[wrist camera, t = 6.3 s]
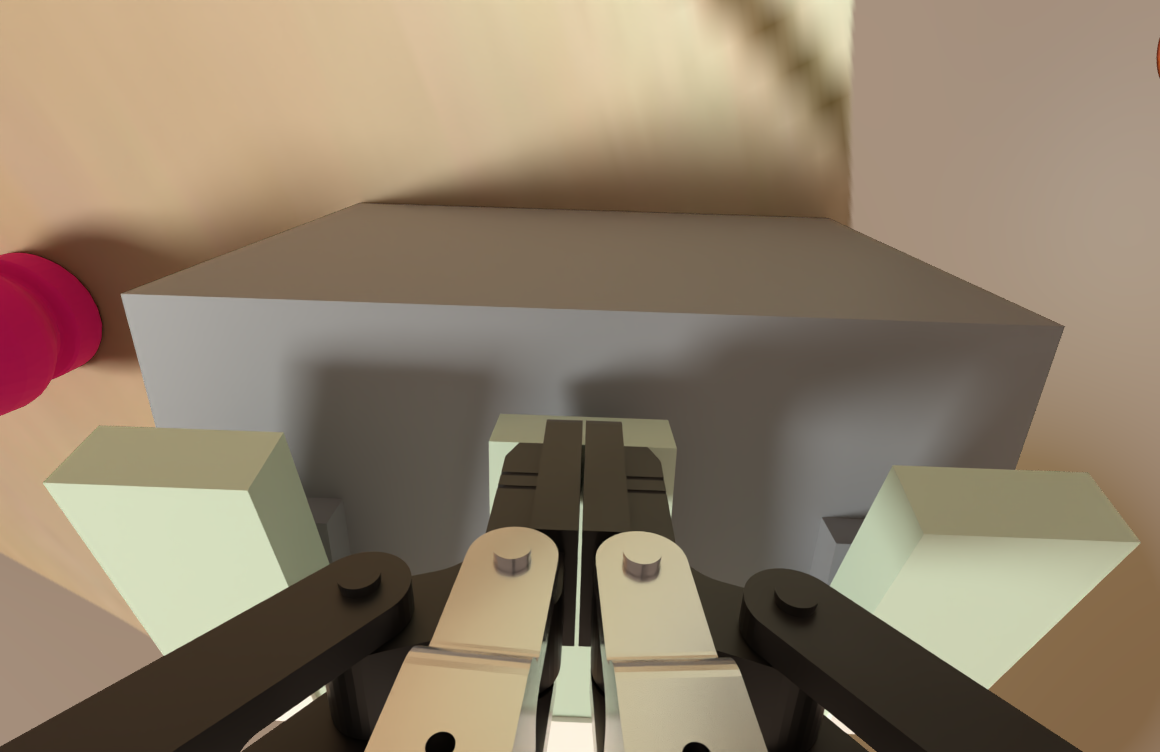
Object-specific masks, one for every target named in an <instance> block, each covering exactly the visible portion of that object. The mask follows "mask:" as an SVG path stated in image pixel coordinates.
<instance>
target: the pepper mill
mask: <svg viewBox="0 0 1160 752" xmlns="http://www.w3.org/2000/svg"><path fill="white" fill-rule="evenodd" d="M101 339H102V322H101V318H100V314H99V311H98V308H97V306H96V304H95V302H94V300H93V299H92V297H91V295H90V293H89V292H88V291H87V289H86V288H85V287H84V286H83V285H82V284H81V283H80V281H79V280H78V279H77V278H76V277H75V276H74V275H72V274H71V273H70V272H68V271H67V270H65V269H64V268H63V267H61V266H60V265H58V264H56V263H54V262H52V261H50V260H48V259H45V258H43V257H40V256H36V255H33V254H27V253H7V254H3V255H0V416H1V415H4V414H6V413H9V412H11V411H13V410H16V409H18V408H21V407H23V406H26V405H27V404H29V403H30V402H32V401H33V400H35V399H36V398H37V397H38V396H39V395H41V394H42V392H43V391H44V390H45V389H46V387H47V386H48V384H49V383H50V381H51V379H55V378H57V377H59V376H61V375H63V374H65V373H67V372H70V371H72V370H74V369H76V368H78V367H80V366H82V365H83V364H85V363H86V362H87V361H89V360H90V359H91V358H92V357H93V356H94V355H95V353H96V352H97V350H98V347H99V344H100V342H101Z"/></svg>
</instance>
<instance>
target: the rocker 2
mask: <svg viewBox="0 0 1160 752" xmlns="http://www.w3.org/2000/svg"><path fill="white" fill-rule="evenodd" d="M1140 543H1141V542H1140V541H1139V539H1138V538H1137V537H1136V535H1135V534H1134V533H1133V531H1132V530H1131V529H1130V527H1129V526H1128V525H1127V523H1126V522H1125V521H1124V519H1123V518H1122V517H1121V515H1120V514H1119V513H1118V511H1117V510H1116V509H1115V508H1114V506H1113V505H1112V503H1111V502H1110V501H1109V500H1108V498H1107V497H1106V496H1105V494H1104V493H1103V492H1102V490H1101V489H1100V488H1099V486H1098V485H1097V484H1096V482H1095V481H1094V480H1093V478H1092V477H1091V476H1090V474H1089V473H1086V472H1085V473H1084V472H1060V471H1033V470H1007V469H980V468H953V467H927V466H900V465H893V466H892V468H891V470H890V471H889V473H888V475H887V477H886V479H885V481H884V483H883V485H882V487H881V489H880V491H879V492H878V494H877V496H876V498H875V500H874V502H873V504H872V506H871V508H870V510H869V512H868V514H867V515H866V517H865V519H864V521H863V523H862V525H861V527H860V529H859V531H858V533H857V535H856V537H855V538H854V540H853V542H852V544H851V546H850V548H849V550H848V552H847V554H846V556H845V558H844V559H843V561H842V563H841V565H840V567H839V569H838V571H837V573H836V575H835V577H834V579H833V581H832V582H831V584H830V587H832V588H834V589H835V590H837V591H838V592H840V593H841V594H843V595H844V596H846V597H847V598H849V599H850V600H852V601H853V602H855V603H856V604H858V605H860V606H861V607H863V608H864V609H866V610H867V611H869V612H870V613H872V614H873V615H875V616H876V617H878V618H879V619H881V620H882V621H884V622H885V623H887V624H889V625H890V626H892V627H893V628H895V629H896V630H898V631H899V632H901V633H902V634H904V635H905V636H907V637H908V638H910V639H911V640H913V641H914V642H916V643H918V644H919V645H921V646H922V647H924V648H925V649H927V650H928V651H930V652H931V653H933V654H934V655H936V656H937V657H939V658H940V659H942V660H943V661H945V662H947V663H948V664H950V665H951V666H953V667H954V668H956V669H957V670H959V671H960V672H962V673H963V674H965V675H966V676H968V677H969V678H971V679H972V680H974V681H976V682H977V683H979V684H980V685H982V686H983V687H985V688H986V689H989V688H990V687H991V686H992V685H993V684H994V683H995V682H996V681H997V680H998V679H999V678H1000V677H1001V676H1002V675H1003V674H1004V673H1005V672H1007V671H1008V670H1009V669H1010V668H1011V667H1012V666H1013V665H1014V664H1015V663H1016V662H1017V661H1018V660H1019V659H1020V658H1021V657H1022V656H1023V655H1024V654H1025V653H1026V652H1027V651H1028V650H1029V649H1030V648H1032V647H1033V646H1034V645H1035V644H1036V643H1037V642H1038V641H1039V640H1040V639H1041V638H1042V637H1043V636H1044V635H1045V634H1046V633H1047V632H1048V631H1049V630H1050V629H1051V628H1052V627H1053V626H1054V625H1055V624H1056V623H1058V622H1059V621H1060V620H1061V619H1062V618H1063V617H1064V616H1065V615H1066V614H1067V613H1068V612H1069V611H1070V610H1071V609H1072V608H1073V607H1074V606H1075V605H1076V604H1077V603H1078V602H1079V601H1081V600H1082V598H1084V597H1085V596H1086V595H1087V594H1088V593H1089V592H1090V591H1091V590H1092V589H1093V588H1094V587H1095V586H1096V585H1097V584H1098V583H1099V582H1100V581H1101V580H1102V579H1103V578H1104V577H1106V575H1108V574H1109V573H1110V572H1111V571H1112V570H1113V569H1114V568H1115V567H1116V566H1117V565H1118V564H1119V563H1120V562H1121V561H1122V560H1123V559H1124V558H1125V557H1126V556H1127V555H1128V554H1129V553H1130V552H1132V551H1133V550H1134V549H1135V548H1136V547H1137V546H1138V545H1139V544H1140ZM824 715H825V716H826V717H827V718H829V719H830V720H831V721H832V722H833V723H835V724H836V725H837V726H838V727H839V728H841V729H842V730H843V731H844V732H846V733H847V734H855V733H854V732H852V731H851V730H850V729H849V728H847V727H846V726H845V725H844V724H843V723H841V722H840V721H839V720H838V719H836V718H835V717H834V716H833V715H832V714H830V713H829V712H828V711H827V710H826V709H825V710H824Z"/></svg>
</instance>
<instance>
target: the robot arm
mask: <svg viewBox="0 0 1160 752" xmlns="http://www.w3.org/2000/svg"><path fill="white" fill-rule="evenodd" d="M582 430H583V420H557V419H547V422H546V428H545V434H544V441H543V443H520V442H519V443H518V444H517V445H516V446H515V447H514V448H513V449H512V450H511V451H510V452H509V453H508V454H507V455H506V456H505V459H504V463H503V467H502V471H501V475H500V479H499V483H498V488H497V490H496V494H495V498H494V502H493V506H492V510H491V514H490V518H489V522H488V526H487V530H486V533H485V534H484V535H482V536H480V537H479V538H478V539H476V540H475V541H474V542H473V543H472V544H471V546H470V547H469V549H468V551H467V553H466V556H465V558H464V561H463V562H461V563H459V564H457V565H455V566H452V567H449V568H447V569H443V570H439V571H434V572H429V573H424V574H419V575H414V576H411V571H410V568H409V567H408V565H407V564H406V563H405V562H404V561H403V560H402V559H401V558H399V557H397V556H395V555H392V554H389V553H384V552H362V553H357V554H353V555H349V556H346V557H343V558H341V559H339V560H337V561H335V562H333V563H331V564H329V565H327V566H325V567H324V568H322V569H320V570H318V571H316V572H315V573H313V574H311V575H309V576H307V577H306V578H304V579H302V580H300V581H298V582H297V583H295V584H293V585H291V586H289V587H288V588H286V589H284V590H282V591H280V592H279V593H277V594H275V595H273V596H271V597H270V598H268V599H266V600H264V601H262V602H260V603H259V604H257V605H255V606H253V607H251V608H250V609H248V610H246V611H244V612H242V613H241V614H239V615H237V616H235V617H233V618H232V619H230V620H228V621H226V622H224V623H223V624H221V625H219V626H217V627H215V628H214V629H212V630H210V631H208V632H206V633H205V634H203V635H201V636H199V637H197V638H195V639H194V640H192V641H190V642H188V643H186V644H185V645H183V646H181V647H179V648H177V649H176V650H174V651H172V652H170V653H168V654H167V655H165V656H163V657H161V658H159V659H158V660H156V661H154V662H152V663H150V664H149V665H147V666H145V667H143V668H141V669H140V670H138V671H136V672H134V673H132V674H131V675H129V676H127V677H125V678H123V679H121V680H120V681H118V682H116V683H115V684H112V685H111V686H109V687H107V688H105V689H103V690H102V691H100V692H98V693H96V694H94V695H93V696H91V697H89V698H87V699H85V700H84V701H82V702H80V703H78V704H76V705H75V706H73V707H71V708H69V709H67V710H65V711H64V712H62V713H60V714H58V715H56V716H55V717H53V718H51V719H49V720H47V721H46V722H44V723H42V724H40V725H38V726H37V727H35V728H33V729H31V730H30V731H28V732H26V733H24V734H22V735H20V736H19V737H17V738H15V739H13V740H11V741H10V742H8V743H6V744H4V745H3V746H1V747H0V752H240V751H241V750H242V748H243V747H244V745H245V744H246V743H247V742H248V741H249V740H250V739H251V738H252V737H253V736H254V735H255V734H256V733H258V732H259V731H261V730H262V729H263V728H265V727H266V726H268V725H269V724H271V723H272V722H273V721H275V720H276V719H278V718H279V717H281V716H282V715H284V714H285V713H286V712H288V711H289V710H291V709H292V708H293V707H295V706H296V705H298V704H299V703H301V702H302V701H303V700H305V699H306V698H308V697H309V696H311V695H312V694H313V693H315V692H316V691H318V690H319V689H321V688H322V687H323V686H325V687H326V692H325V693H324V694H322V695H321V696H319V697H318V698H317V699H315V700H314V701H312V702H311V703H309V704H308V705H307V706H305V707H304V708H302V709H301V710H300V711H298V712H297V713H295V714H294V715H293V716H291V717H290V718H288V719H287V720H285V721H284V722H283V723H281V724H280V725H279V726H277V727H276V728H274V729H273V730H271V731H270V732H269V733H267V734H266V735H264V736H263V737H262V738H260V739H259V740H258V741H256V742H254V743H253V744H252V745H250V746H249V747H247V748H246V749H245V750H243V751H242V752H547V746H548V740H549V733H550V727H551V720H552V714H553V707H554V701H555V695H556V678H557V676H558V674H559V671H560V666H561V654H562V646H574V644H575V619H576V593H577V568H578V543H579V518H580V490H581V460H582ZM578 646H582V647H591V668H590V691H589V694H590V707H591V720H592V733H593V746H594V752H868V751H867V750H866V749H865V748H863V747H862V746H861V745H860V744H859V743H858V742H856V741H855V740H854V739H853V738H851V737H850V736H849V735H848V734H847V733H846V732H844V731H843V730H842V729H841V728H839V727H838V726H837V725H836V724H835V723H833V722H832V721H831V720H830V719H829V718H827V717H826V716H825V715H824V710H825V709H826V710H827V711H828V712H829V713H830V714H832V715H833V716H834V717H835V718H836V719H838V720H839V721H840V722H841V723H843V724H844V725H845V726H846V727H847V728H849V729H850V730H851V731H852V732H854V733H855V734H856V735H857V736H858V737H860V738H861V739H862V740H863V741H865V742H866V743H867V744H868V745H869V746H871V747H872V748H873V749H874V750H875V751H877V752H1082V751H1081V750H1079V749H1078V748H1076V747H1075V746H1073V745H1072V744H1070V743H1069V742H1067V741H1065V740H1064V739H1062V738H1061V737H1059V736H1058V735H1056V734H1055V733H1053V732H1052V731H1050V730H1049V729H1047V728H1046V727H1044V726H1043V725H1041V724H1040V723H1038V722H1037V721H1035V720H1033V719H1032V718H1030V717H1029V716H1027V715H1026V714H1024V713H1023V712H1021V711H1020V710H1018V709H1017V708H1015V707H1014V706H1012V705H1011V704H1009V703H1008V702H1006V701H1005V700H1003V699H1001V698H1000V697H998V696H997V695H995V694H994V693H992V692H991V691H989V690H988V689H986V688H985V687H983V686H982V685H980V684H979V683H977V682H976V681H974V680H972V679H971V678H969V677H968V676H966V675H965V674H963V673H962V672H960V671H959V670H957V669H956V668H954V667H953V666H951V665H950V664H948V663H947V662H945V661H943V660H942V659H940V658H939V657H937V656H936V655H934V654H933V653H931V652H930V651H928V650H927V649H925V648H924V647H922V646H921V645H919V644H918V643H916V642H914V641H913V640H911V639H910V638H908V637H907V636H905V635H904V634H902V633H901V632H899V631H898V630H896V629H895V628H893V627H892V626H890V625H889V624H887V623H885V622H884V621H882V620H881V619H879V618H878V617H876V616H875V615H873V614H872V613H870V612H869V611H867V610H866V609H864V608H863V607H861V606H860V605H858V604H856V603H855V602H853V601H852V600H850V599H849V598H847V597H846V596H844V595H843V594H841V593H840V592H838V591H837V590H835V589H834V588H832V587H830V586H829V585H827V584H826V583H824V582H823V581H821V580H819V579H818V578H816V577H814V576H811V575H809V574H806V573H803V572H800V571H796V570H792V569H784V568H773V569H766V570H763V571H760V572H758V573H756V574H754V575H753V576H751V577H750V578H749V579H748V581H747V582H746V584H745V587H744V588H743V587H739V586H736V585H732V584H729V583H725V582H721V581H718V580H715V579H712V578H710V577H708V576H705V575H703V574H702V573H700V572H698V571H696V570H695V569H694V568H692V567H691V566H690V565H689V563H688V560H687V557H686V555H685V554H684V552H683V551H682V549H681V548H680V547H679V546H678V545H676V543H675V537H674V531H673V526H672V520H671V515H670V509H669V504H668V498H667V494H666V487H665V482H664V476H663V470H662V465H661V461H660V460H659V459H658V458H657V457H656V455H655V454H654V453H653V452H652V451H651V450H650V449H649V448H648V447H635V446H624V441H623V429H622V422H616V421H588V420H586V434H585V462H584V490H583V519H582V550H581V582H580V613H579V644H578Z"/></svg>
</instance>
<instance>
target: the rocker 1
mask: <svg viewBox="0 0 1160 752" xmlns="http://www.w3.org/2000/svg"><path fill="white" fill-rule="evenodd" d="M43 484H44V485H45V487H46V488H47V490H48V491H49V493H50V494H51V495H52V497H53V498H54V500H55V501H56V503H57V504H58V505H59V507H60V508H61V510H62V511H63V513H64V514H65V515H66V517H67V518H68V520H69V521H70V523H71V524H72V525H73V527H74V528H75V530H76V531H77V533H78V534H79V535H80V537H81V538H82V540H83V541H84V543H85V544H86V545H87V547H88V548H89V550H90V551H91V553H92V554H93V555H94V557H95V558H96V560H97V561H98V563H99V564H100V565H101V567H102V568H103V570H104V571H105V573H106V574H107V575H108V577H109V578H110V580H111V581H112V583H113V584H114V585H115V587H116V588H117V590H118V591H119V593H120V594H121V595H122V597H123V598H124V600H125V601H126V603H127V604H128V605H129V607H130V608H131V610H132V611H133V613H134V614H135V615H136V617H137V618H138V620H139V621H140V623H141V624H142V625H143V627H144V628H145V630H146V631H147V633H148V634H149V636H150V637H151V638H152V640H153V641H154V642H155V644H156V646H157V647H158V648H159V650H160V651H161V653H162V654H163V655H164V656H165V655H167V654H168V653H170V652H172V651H174V650H176V649H177V648H179V647H181V646H183V645H185V644H186V643H188V642H190V641H192V640H194V639H195V638H197V637H199V636H201V635H203V634H205V633H206V632H208V631H210V630H212V629H214V628H215V627H217V626H219V625H221V624H223V623H224V622H226V621H228V620H230V619H232V618H233V617H235V616H237V615H239V614H241V613H242V612H244V611H246V610H248V609H250V608H251V607H253V606H255V605H257V604H259V603H260V602H262V601H264V600H266V599H268V598H270V597H271V596H273V595H275V594H277V593H279V592H280V591H282V590H284V589H286V588H288V587H289V586H291V585H293V584H295V583H297V582H298V581H300V580H302V579H304V578H306V577H307V576H309V575H311V574H313V573H315V572H316V571H318V570H320V569H322V568H324V567H325V566H327V565H329V561H328V558H327V556H326V553H325V550H324V547H323V544H322V541H321V538H320V535H319V533H318V530H317V527H316V524H315V521H314V518H313V515H312V512H311V510H310V507H309V504H308V501H307V498H306V495H305V492H304V490H303V487H302V484H301V481H300V478H299V475H298V472H297V469H296V467H295V464H294V461H293V458H292V455H291V452H290V449H289V447H288V444H287V441H286V438H285V435H284V432H260V431H234V430H207V429H180V428H153V427H126V426H100V425H99V426H98V427H97V428H96V429H95V430H94V431H93V432H92V433H91V434H90V435H89V436H88V437H87V438H86V439H85V440H84V441H83V442H82V443H81V444H80V445H79V446H78V447H77V448H76V449H75V450H74V451H73V452H72V453H71V454H70V455H69V456H68V457H67V459H66V460H65V461H64V462H63V463H62V464H61V465H60V466H59V467H58V468H57V469H56V470H55V471H54V472H53V473H52V474H51V475H50V476H49V477H48V478H47V479H46V480H45V481H44V482H43ZM325 692H326V687H325V686H323V687H322V688H321V689H319V690H318V691H316V692H315V693H313V694H312V695H311V696H309V697H308V698H306V699H305V700H303V701H302V702H301V703H299V704H298V705H296V706H295V707H293V708H292V709H291V710H289V711H288V712H286V713H285V714H284V715H282V716H281V717H279V718H278V719H276V721H277V720H278V721H285V720H287V719H288V718H290V717H291V716H293V715H294V714H295V713H297V712H298V711H300V710H301V709H302V708H304V707H305V706H307V705H308V704H309V703H311V702H312V701H314V700H315V699H317V698H318V697H319V696H321V695H322V694H324V693H325Z"/></svg>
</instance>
